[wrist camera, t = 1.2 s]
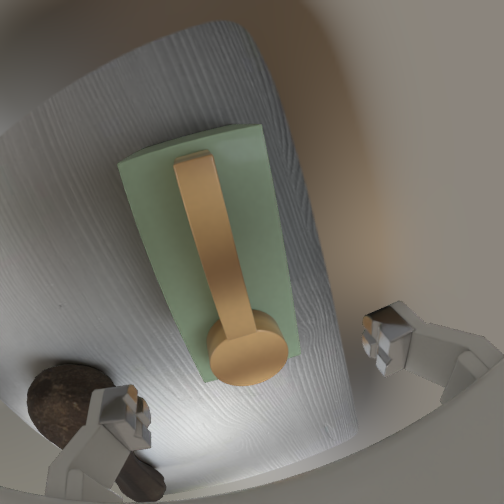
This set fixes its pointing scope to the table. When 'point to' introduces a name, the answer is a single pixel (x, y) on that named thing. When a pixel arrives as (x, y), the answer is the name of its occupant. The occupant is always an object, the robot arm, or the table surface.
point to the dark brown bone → (84, 421)
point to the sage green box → (241, 221)
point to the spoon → (227, 282)
